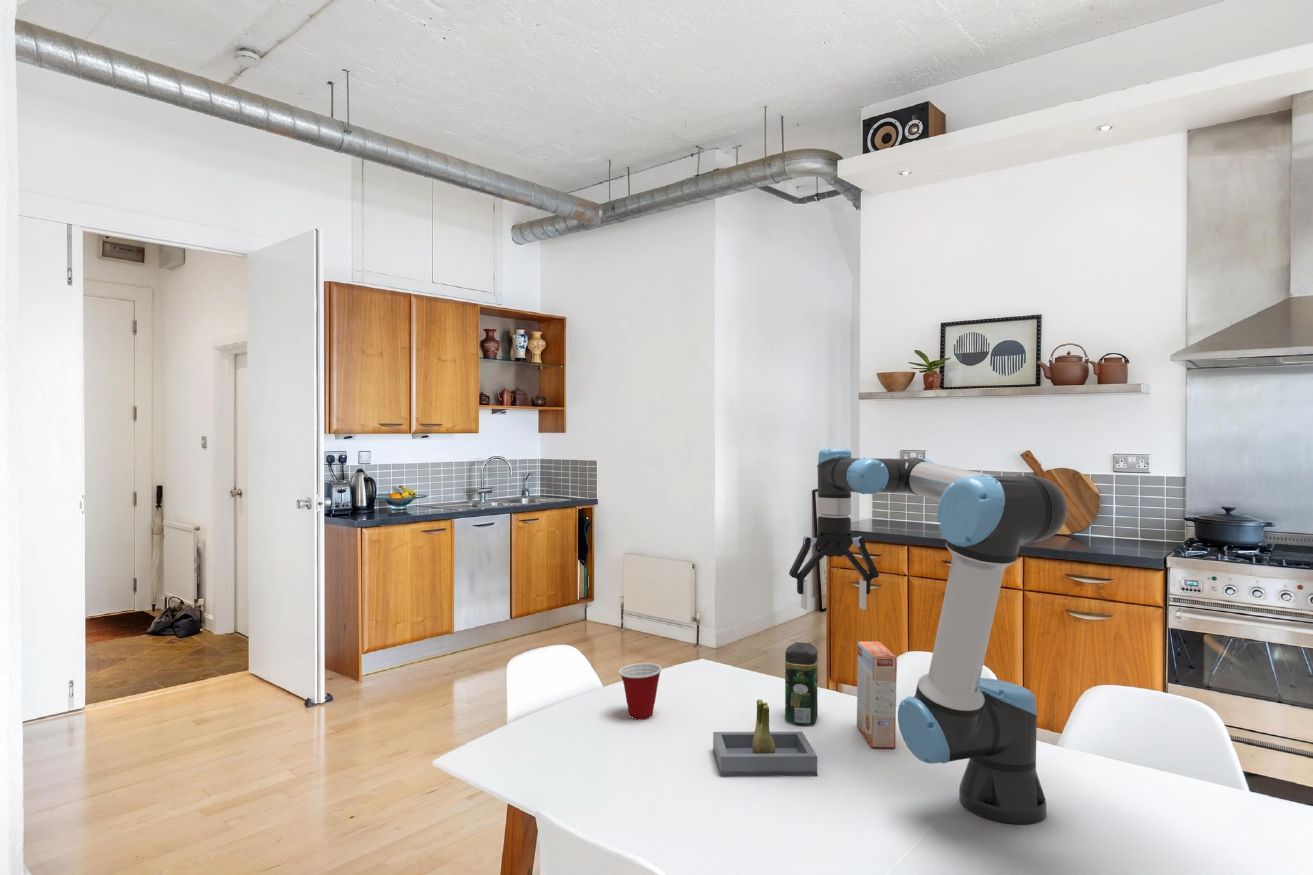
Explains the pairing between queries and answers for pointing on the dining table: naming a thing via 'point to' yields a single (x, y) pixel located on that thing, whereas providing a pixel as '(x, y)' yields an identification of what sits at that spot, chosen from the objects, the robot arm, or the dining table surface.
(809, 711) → the coffee jar
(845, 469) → the robot arm
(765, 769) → the bin
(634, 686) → the plastic cup
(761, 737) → the fennel bulb
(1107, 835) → the dining table surface
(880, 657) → the cracker box
